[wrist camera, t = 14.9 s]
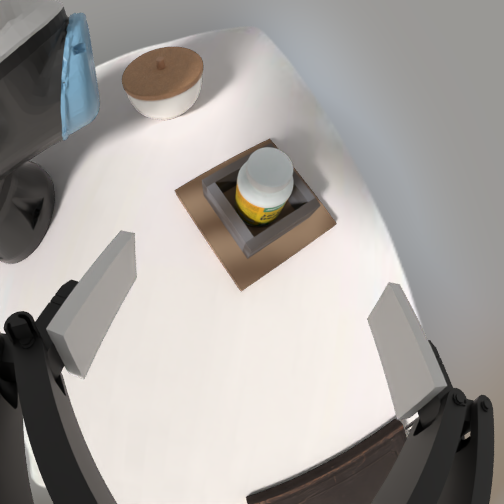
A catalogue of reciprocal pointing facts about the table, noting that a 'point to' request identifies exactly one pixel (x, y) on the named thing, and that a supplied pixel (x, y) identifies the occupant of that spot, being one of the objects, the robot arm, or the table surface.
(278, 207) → the supplement bottle
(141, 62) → the lidded jar
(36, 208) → the robot arm
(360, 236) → the table surface
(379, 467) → the hardcover book
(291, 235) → the wooden square holder
